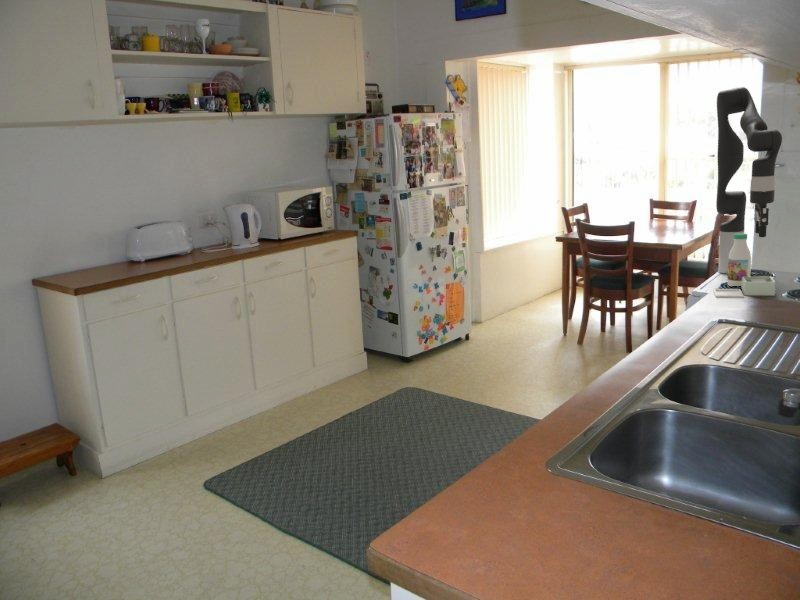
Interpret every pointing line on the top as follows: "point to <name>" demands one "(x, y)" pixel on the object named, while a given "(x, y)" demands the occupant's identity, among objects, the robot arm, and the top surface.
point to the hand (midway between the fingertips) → (760, 235)
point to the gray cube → (757, 280)
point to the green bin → (758, 286)
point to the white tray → (728, 293)
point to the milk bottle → (739, 260)
